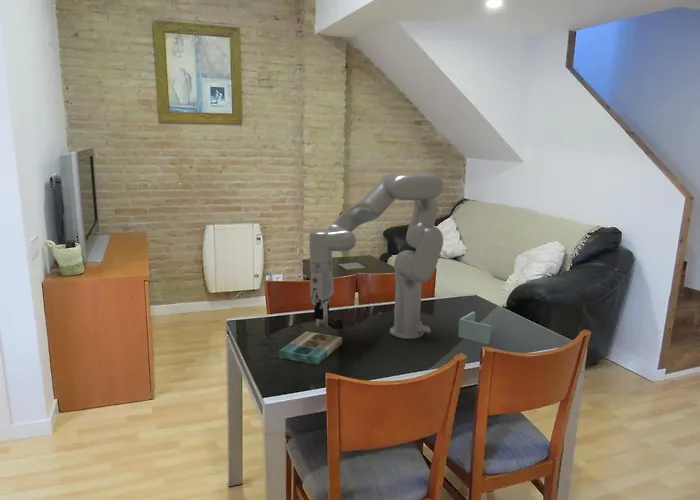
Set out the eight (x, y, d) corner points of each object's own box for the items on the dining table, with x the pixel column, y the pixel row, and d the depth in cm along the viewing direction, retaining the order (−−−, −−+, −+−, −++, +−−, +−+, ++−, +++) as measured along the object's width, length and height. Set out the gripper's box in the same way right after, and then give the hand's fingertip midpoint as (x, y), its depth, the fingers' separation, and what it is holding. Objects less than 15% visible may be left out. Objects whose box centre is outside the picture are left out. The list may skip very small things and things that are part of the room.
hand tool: (343, 328, 203) (344, 316, 202) (334, 329, 201) (335, 318, 200) (320, 314, 219) (320, 304, 218) (312, 316, 217) (312, 305, 216)
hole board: (341, 343, 186) (342, 337, 186) (317, 365, 168) (318, 357, 167) (306, 338, 191) (306, 331, 191) (279, 357, 173) (279, 350, 173)
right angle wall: (488, 346, 189) (490, 326, 187) (458, 338, 196) (459, 319, 194) (501, 336, 198) (502, 317, 196) (471, 329, 205) (472, 311, 204)
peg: (329, 324, 186) (329, 299, 184) (324, 328, 182) (324, 303, 180) (319, 323, 187) (318, 298, 185) (314, 326, 183) (313, 301, 182)
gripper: (320, 272, 171) (321, 326, 175) (340, 261, 186) (341, 311, 190) (300, 270, 174) (301, 323, 178) (321, 260, 189) (322, 308, 193)
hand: (321, 316), depth 184 cm, fingers closed on peg, 4 cm apart
